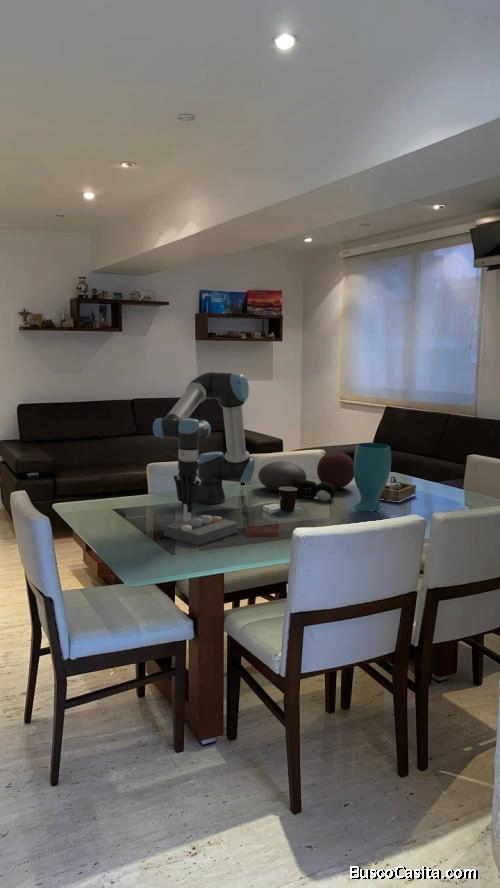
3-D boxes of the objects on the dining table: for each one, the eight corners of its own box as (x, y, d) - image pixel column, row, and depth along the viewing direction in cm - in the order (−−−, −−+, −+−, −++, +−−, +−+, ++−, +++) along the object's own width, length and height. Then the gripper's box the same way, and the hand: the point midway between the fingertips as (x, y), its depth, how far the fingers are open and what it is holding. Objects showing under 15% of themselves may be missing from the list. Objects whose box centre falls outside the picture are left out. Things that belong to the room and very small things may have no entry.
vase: (343, 507, 316) (347, 444, 312) (363, 502, 329) (367, 441, 324) (374, 515, 305) (379, 450, 300) (394, 509, 318) (399, 446, 313)
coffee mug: (295, 513, 303) (296, 491, 302) (276, 511, 305) (277, 489, 303) (298, 507, 314) (299, 486, 313) (280, 505, 316) (281, 484, 314)
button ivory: (179, 535, 258) (179, 526, 257) (185, 533, 261) (186, 524, 260) (186, 537, 255) (187, 528, 255) (193, 535, 258) (194, 526, 258)
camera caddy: (372, 498, 337) (372, 486, 336) (389, 492, 354) (390, 480, 353) (398, 503, 329) (399, 491, 328) (415, 496, 346) (416, 485, 345)
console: (163, 535, 261) (164, 525, 260) (203, 523, 280) (204, 514, 280) (199, 545, 251) (199, 535, 250) (238, 532, 270) (238, 522, 269)
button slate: (189, 528, 262) (189, 519, 262) (196, 526, 265) (196, 517, 265) (197, 530, 260) (197, 521, 259) (203, 528, 263) (204, 519, 262)
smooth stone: (291, 498, 331) (292, 468, 329) (248, 490, 344) (249, 462, 342) (313, 489, 352) (315, 461, 350) (272, 483, 365) (273, 456, 363)
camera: (391, 500, 336) (392, 480, 334) (377, 497, 341) (379, 478, 339) (404, 495, 348) (406, 476, 346) (391, 493, 352) (393, 474, 351)
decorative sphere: (316, 483, 368) (318, 447, 365) (353, 486, 365) (355, 449, 362) (315, 491, 349) (317, 453, 345) (353, 494, 346) (356, 455, 343)
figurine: (291, 486, 329) (331, 491, 322) (297, 474, 336) (336, 479, 329) (293, 500, 335) (332, 506, 327) (299, 489, 341) (337, 494, 334)
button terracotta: (209, 526, 272) (209, 517, 271) (215, 524, 275) (215, 515, 275) (216, 528, 270) (217, 519, 269) (223, 526, 273) (223, 517, 272)
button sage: (199, 525, 267) (199, 516, 266) (206, 523, 270) (206, 514, 270) (207, 527, 265) (207, 518, 264) (213, 525, 268) (213, 516, 267)
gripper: (168, 458, 254) (167, 518, 258) (194, 463, 247) (193, 525, 251) (182, 456, 260) (181, 515, 264) (207, 460, 253) (206, 521, 257)
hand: (187, 520), depth 257 cm, fingers closed
